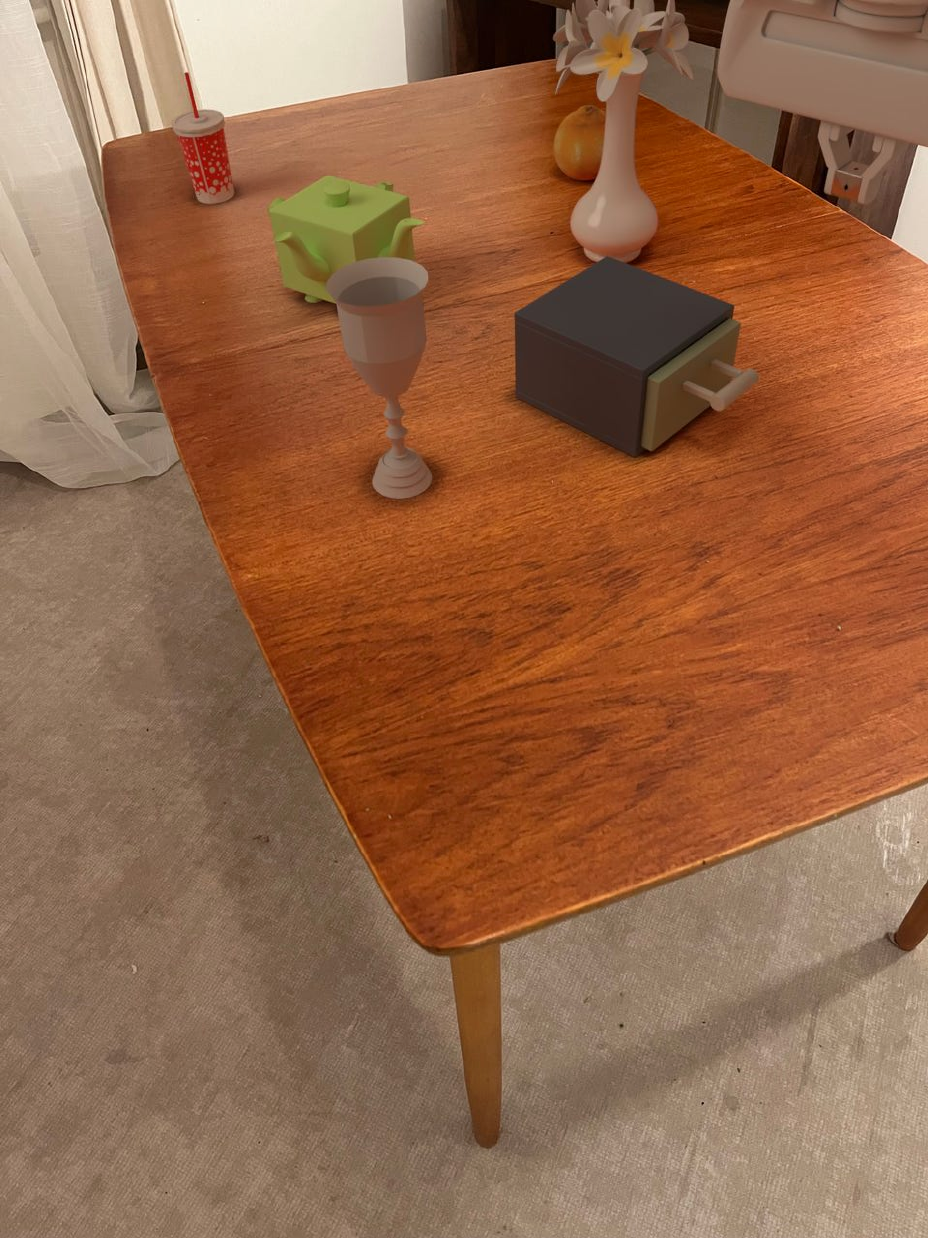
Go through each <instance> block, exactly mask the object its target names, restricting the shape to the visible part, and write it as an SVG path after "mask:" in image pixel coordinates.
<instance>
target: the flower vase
mask: <svg viewBox="0 0 928 1238" xmlns="http://www.w3.org/2000/svg"><path fill="white" fill-rule="evenodd" d="M630 5H631V0H597V4H596V1H595V0H575V3H574V2H572V5H571V11H570V9H567V10H566V13H565V21H564V22H565V24H564V25H563V26H561V27H559V28H558V30H556V32H555V33H554V34H553V36H552V40H553V41H554V42H555V43H561V42H562V43H563V42H567V41H568V44H567V46H565V47H564V48H562V50H561V51H560V53H559V55H558V58H557V60H556V64H555V65H556V66H555V71H556V73H559V72H561V71H562V73H561V75H560V76H559V80H558V82H557V85H556V89H555V92H554V95H557V94H558V93H559V91H560V90H561V88H562V86H563V85H564V84H565V82H566V81H567V80H568V78H569V77H570V75H571V74H572V73H573V74H576V75H580V76H585V75H591V74H595V73H599V75H598V77H597V81H596V87H595V88H596V96H597V98H598V100H599V101H600V102H605V112H606V120H605V132H604V143H603V153H602V160H601V165H600V169H599V172H598V175H597V177H596V179H594V182H593V184H592V185H591V188H589V190H588V191H586V192H585V193H584V194H583V195H582V197H580V198H579V200H578V201H577V202H576V204H575V205H574V207H573V210H572V212H571V215H570V219H569V220H570V221H569V226H570V231H571V232H570V233H571V234H572V236H573V238H574V240H576V242H577V243H578V244H579V245H580V246H581V247H583V252H584V255H585V256H586V258H588V259H589V260H590V261H593V262H594V263H597V262H598V261H600V260H601V259H603V258H605V257H606V256H608V257H611V258H613V259H616V260H619V261H621V262H624V263H626V264H628V263H631V262H632V261H633V260H635V259H637V258H638V257H639V256H640V254H641V251H642V248H644V247H645V246H646V245H648V243H649V242H650V241H651V240H652V239H653V237H654V236H655V235H656V234H657V232H658V227H659V215H658V211H657V209H656V205H655V203H654V202H653V200H652V199H651V197H650V196H649V195H648V194H647V193H646V192H645V191H644V190H643V188H642V186H641V185H640V181H639V179H638V175H637V170H636V161H635V160H636V159H635V158H636V157H635V150H636V149H635V143H636V120H637V107H638V100H639V96H640V95H639V94H640V91H641V86H642V81H643V77H644V75H645V73H646V72H647V70H648V66H649V61H648V58H647V56H648V55H652V54H654V53H658V54H659V55H660V56H661V57H662V58H663V59H664V60H665V61H667V62H668V63H669V64H671V65H672V66H673V67H674V69H676V70H677V72H678V73H679V75H680V76H683V74H684V75H685V76H686V77H687V78H688V79H689V80H691V81H694V73H693V70H692V67H691V65H690V63H689V61H688V59H687V57H686V56H685V55H684V54H683V53H681V52H678V51H680V50H683V49H684V48H685V47H687V45H688V43H689V38H690V34H689V28H688V26H687V25H686V24H685V22H686V17H685V16H684V15H685V14H682V13H681V12H677V11H676V3H675V0H667V5H666V8H665V10H664V11H663V10H660V11H659V10H658V11H655V2H654V0H634V1H633V8H630ZM579 20H580V21H579ZM591 41H592V43H591V45H590V47H588V45H587V43H589V42H591ZM644 48H645V49H644ZM642 49H644V50H642Z"/></svg>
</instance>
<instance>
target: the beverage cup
mask: <svg viewBox="0 0 928 1238" xmlns="http://www.w3.org/2000/svg"><path fill="white" fill-rule="evenodd" d="M183 74H184V77H185V82H186V86H187V90H188V94H189V99H190V103H191V106H192V110H189V111H186V112H184V113H181V114H178V115H176V116H175V117H174V118H173V119H171V127H172V128H173V130H172V131H173V133H175V135H176V136H177V140H178V143H179V146H180V149H181V153H182V156H183V158H184V161H185V165H186V168H187V172H188V174H189V177H190V180H191V184H192V187H193V190H194V193H195V197H196V199H197V201H198V202H200V203H203V204H205V205H207V204H208V205H213V204H220V203H224V202H227V201H228V200H231V199H232V198H234V196H235V187H234V183H233V175H232V169H231V163H230V157H229V151H228V146H227V139H226V134H225V133H226V132H225V128H224V127H225V124H226V123H225V122H226V121H225V116H224V114H223V113H222V112H221V111H218V110H215V109H205V108H203V109H198V106H197V103H196V99H195V95H194V90H193V86H192V82H191V78H190V73H189V72H188V71H186V72H184V73H183ZM232 185H233V187H232ZM231 187H232V188H231ZM229 189H230V190H229ZM228 190H229V191H228ZM226 191H228V192H226ZM225 192H226V193H225ZM222 193H223V194H222ZM199 194H200V195H199ZM218 194H220V195H218ZM213 195H214V196H213Z"/></svg>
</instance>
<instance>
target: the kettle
mask: <svg viewBox="0 0 928 1238" xmlns="http://www.w3.org/2000/svg"><path fill="white" fill-rule="evenodd" d="M394 184H395V183H392V182H387V181H381V182H377V183H376V187H375V186H372V185H368V184H364V183H360V182H356V181H353V180H348V179H346V178H345V179H344V178H342V177H341V178H340V177H337V176H332V175H329V174H326V175H325V176H323V177H321V178H320V179H318V180H316V181H314V183H311V184H310V185H308V186H306V187H305V188H303V189H301V190H300V191H298V192H297V193H295V194H292V196H290V197H288V198H287V199H284V198H283V196H278V197H276V198H275V199H274V200H273V201H271V203H270V204H269V206H268V207H267V210H266V211H267V212H268V214H269V219H270V224H271V225H270V226H271V230H272V234H273V238H272V241H273V242H274V245H275V249H276V253H277V258H278V263H279V268H280V273H281V278H282V283H283V287H284V288H287V289H291V290H294V291H296V292H300V293H302V294H305V296H304V300H305V301H306V302H308V303H311V304H312V303H313V304H316V303H320V302H323V301H327V302H329V303H333V304H336V302H335V301H334V300H333V298H332V297H331V296H330V294H329V293H328V292H327V281H328V280H329V278H330V277H331V275H332V274H334V273H335V272H336V271H338V270H339V269H340V268H342V267H344V266H347V265H349V264H351V263H354V262H358V261H362V260H365V259H371V258H380V257H392V258H402V259H407V260H411V261H413V262H416V259H415V257H416V256H415V245H414V237H413V236H414V235H413V229H414V228H417V227H420V226H421V225H424V224H425V222H424V221H423V220H421V219H418V218H413V217H412V215H411V205H410V204H411V203H410V197H409V196H408V195H405V194H401V193H399V192H394V186H395V185H394ZM336 305H337V304H336Z"/></svg>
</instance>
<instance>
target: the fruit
mask: <svg viewBox="0 0 928 1238" xmlns="http://www.w3.org/2000/svg"><path fill="white" fill-rule="evenodd" d="M605 120H606V110H605V111H604V110H602V109H600V108H599V107H598V106H595V105H593V104H587V105H582V106H580V107H578V109H577V110H575V111H572V112H570V113H569V114H568V115H567V116H566V117H565V118H563V120H562V121H561V123H560V124H559V126H558V128H557V130H556V132H555V135H554V139H553V145H552V154H553V159H554V161H555V164H556V165H557V167H558V169H560V171H561V172H562V173H563V174H564V175H566V176H567V177H568V178H571V179H573V180H577V181H592V180H596V177H597V175H598V172H599V169H600V165H601V160H602V153H603V143H604V132H605Z"/></svg>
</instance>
